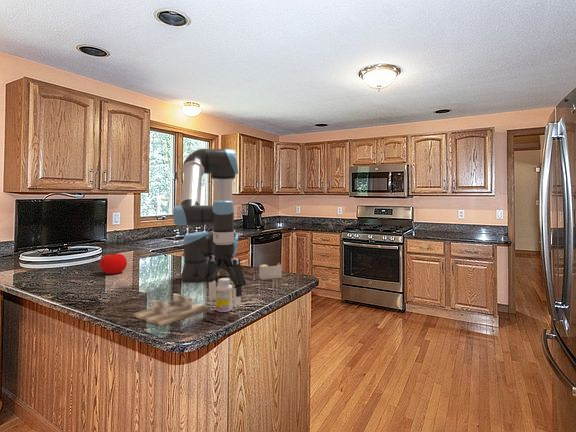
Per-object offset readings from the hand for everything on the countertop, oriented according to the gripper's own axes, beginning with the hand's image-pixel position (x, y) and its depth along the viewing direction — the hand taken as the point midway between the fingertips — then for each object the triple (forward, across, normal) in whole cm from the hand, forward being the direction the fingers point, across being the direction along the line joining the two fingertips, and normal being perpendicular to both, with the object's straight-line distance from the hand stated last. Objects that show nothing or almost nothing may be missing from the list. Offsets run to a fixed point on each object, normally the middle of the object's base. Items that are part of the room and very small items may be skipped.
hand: (224, 302), depth 124 cm
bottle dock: (+3, -13, -13) cm, 19 cm away
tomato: (+3, -92, +7) cm, 92 cm away
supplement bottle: (+3, 0, 0) cm, 3 cm away
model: (+4, -16, +47) cm, 50 cm away
